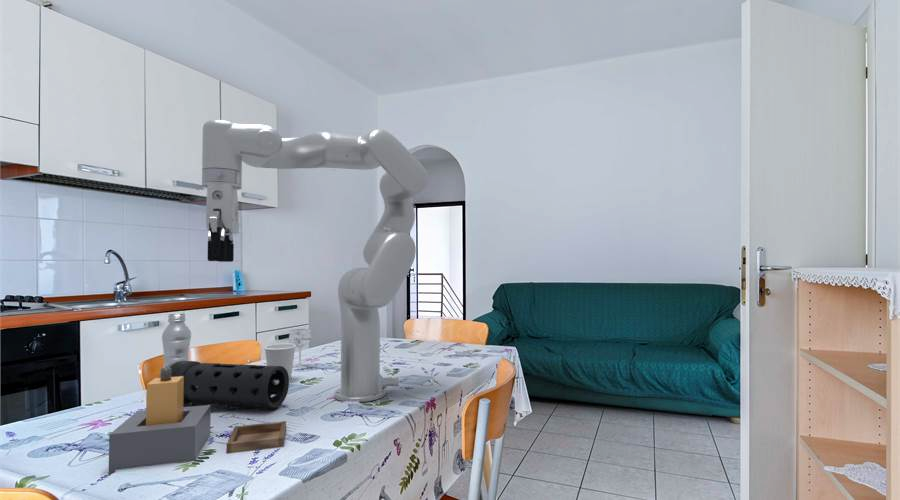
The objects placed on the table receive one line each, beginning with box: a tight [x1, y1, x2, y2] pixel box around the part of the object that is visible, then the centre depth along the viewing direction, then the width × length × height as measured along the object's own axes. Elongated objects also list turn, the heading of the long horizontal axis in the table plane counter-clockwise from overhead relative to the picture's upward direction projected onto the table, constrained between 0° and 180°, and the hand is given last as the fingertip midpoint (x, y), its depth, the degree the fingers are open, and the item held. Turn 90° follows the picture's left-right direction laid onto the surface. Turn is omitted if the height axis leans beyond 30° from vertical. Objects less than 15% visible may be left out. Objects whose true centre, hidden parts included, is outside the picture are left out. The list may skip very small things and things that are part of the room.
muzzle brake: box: [158, 360, 290, 411], centre depth 104 cm, size 10×28×10 cm, turn 78°
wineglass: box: [288, 328, 312, 368], centre depth 144 cm, size 7×7×12 cm
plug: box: [145, 367, 184, 426], centre depth 79 cm, size 4×4×12 cm
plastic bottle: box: [161, 313, 192, 368], centre depth 117 cm, size 6×7×20 cm
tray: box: [225, 420, 287, 454], centre depth 83 cm, size 9×9×2 cm
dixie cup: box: [263, 342, 297, 384], centre depth 127 cm, size 8×8×10 cm
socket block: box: [108, 405, 212, 474], centre depth 78 cm, size 12×12×6 cm
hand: (221, 261), depth 95 cm, fingers open, 9 cm apart
